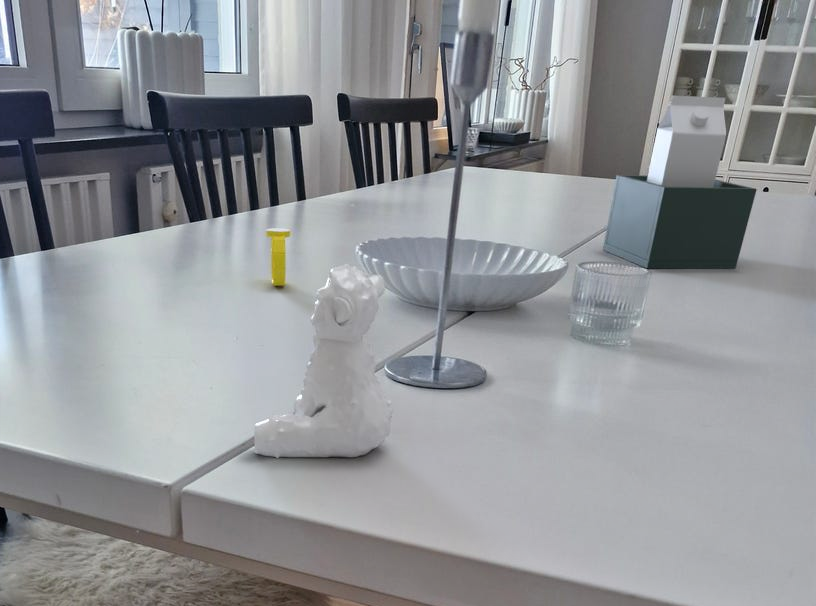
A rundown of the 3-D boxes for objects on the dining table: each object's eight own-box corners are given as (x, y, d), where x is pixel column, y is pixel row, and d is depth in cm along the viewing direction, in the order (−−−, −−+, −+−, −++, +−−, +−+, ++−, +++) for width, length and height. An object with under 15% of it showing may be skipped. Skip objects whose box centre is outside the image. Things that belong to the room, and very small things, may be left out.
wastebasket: (735, 268, 125) (757, 188, 119) (647, 268, 122) (664, 187, 117) (684, 250, 136) (702, 176, 130) (602, 250, 133) (616, 174, 128)
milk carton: (633, 245, 132) (664, 94, 121) (681, 247, 132) (716, 96, 121) (646, 254, 126) (680, 96, 115) (697, 256, 126) (735, 99, 116)
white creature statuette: (303, 413, 68) (306, 243, 62) (410, 432, 66) (425, 257, 59) (246, 454, 61) (243, 267, 54) (364, 478, 58) (376, 284, 52)
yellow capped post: (291, 290, 103) (291, 234, 100) (267, 290, 103) (267, 233, 100) (288, 279, 108) (288, 225, 105) (265, 278, 108) (265, 225, 105)
